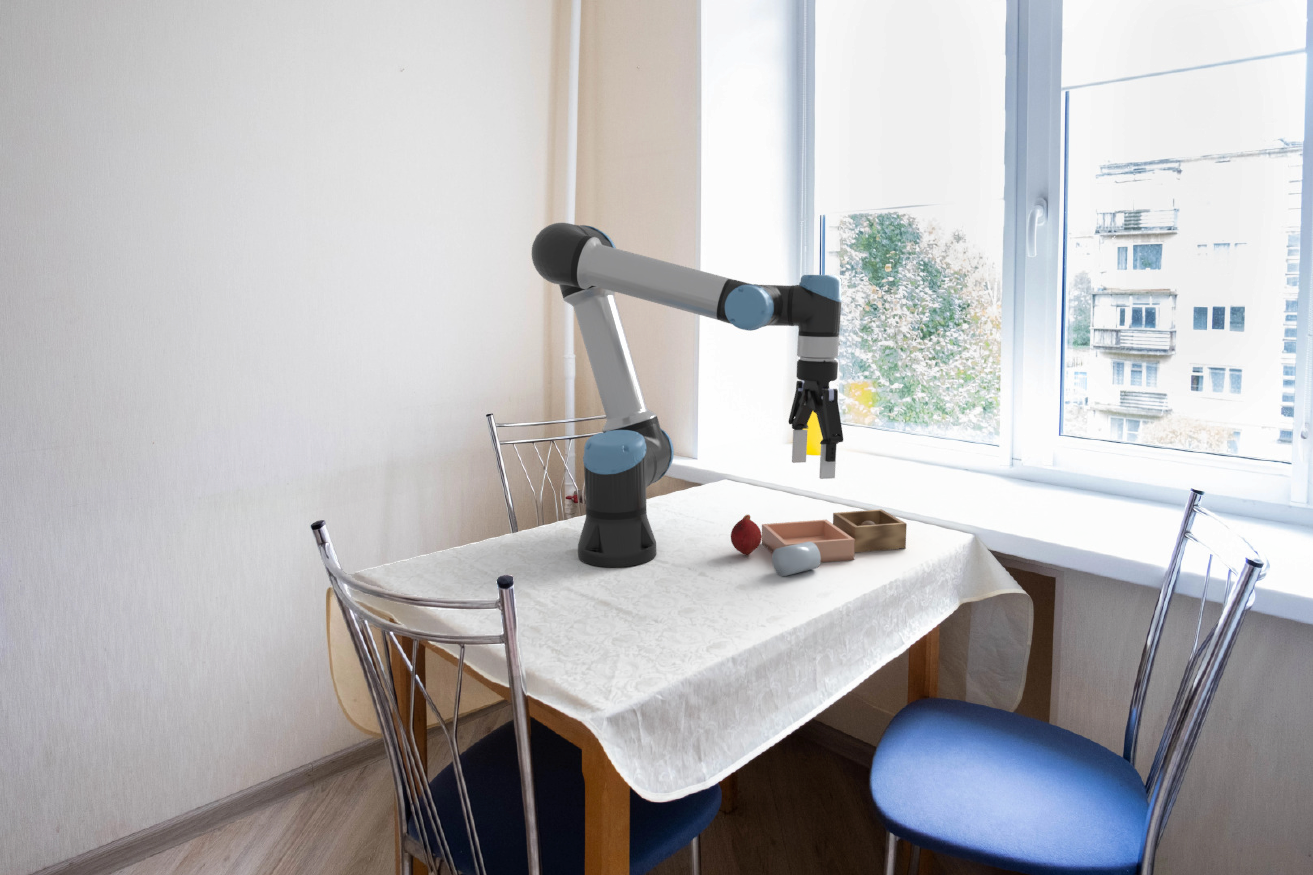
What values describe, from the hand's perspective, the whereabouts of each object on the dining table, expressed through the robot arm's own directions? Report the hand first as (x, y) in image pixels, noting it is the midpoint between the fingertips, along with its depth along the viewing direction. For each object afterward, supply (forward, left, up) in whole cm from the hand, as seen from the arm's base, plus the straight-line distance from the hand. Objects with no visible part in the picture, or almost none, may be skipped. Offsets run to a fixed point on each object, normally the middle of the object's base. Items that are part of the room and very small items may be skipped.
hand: (812, 470), depth 156 cm
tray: (-1, -1, -16) cm, 16 cm away
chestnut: (+13, +2, -16) cm, 20 cm away
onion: (-13, 0, -16) cm, 21 cm away
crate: (+13, +2, -16) cm, 20 cm away
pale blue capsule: (-7, -11, -16) cm, 21 cm away
